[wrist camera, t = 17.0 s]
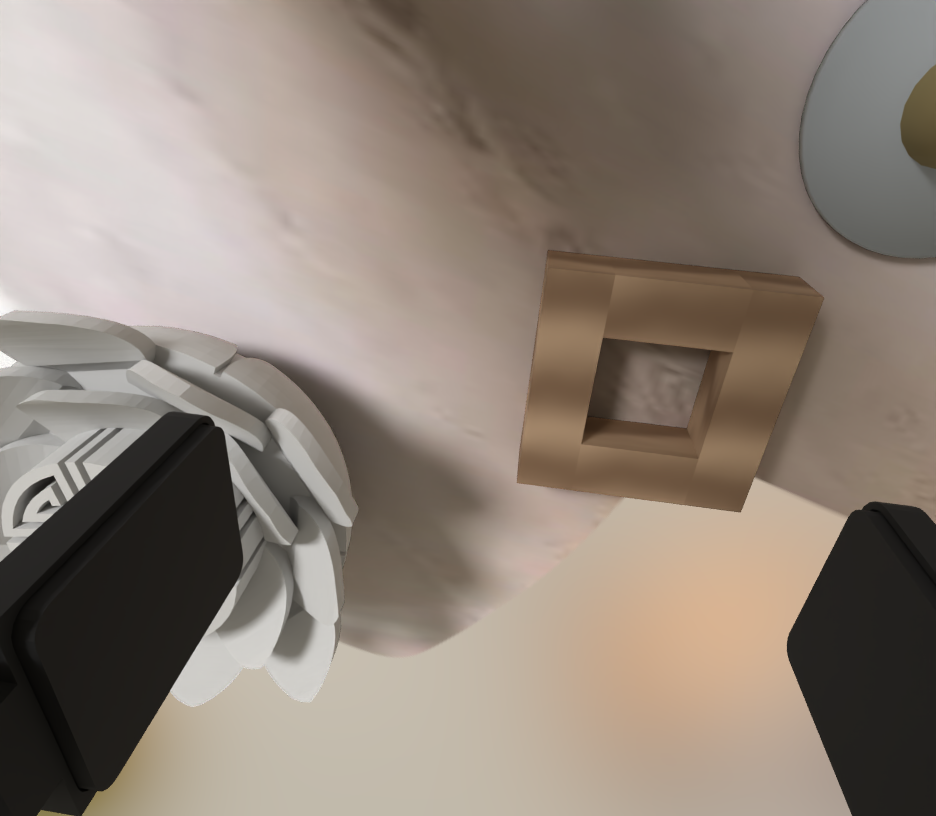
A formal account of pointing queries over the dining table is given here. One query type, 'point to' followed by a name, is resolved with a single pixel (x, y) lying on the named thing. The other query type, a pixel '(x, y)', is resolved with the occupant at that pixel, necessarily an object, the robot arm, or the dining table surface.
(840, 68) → the slate mat
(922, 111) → the cork
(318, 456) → the decorative bowl
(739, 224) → the dining table surface
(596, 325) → the walnut holder
